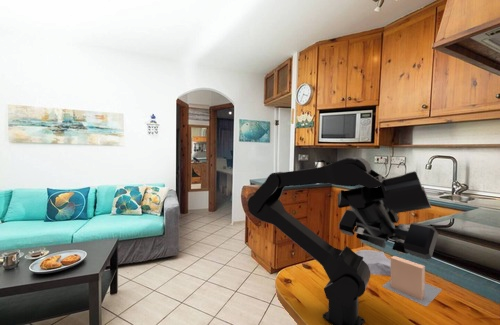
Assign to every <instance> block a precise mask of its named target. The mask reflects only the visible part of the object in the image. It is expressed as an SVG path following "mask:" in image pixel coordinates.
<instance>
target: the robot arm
mask: <svg viewBox="0 0 500 325" xmlns="http://www.w3.org/2000/svg"><path fill="white" fill-rule="evenodd" d="M318 184H326V185H327V184H328V185H332V186H333V185H334V186H341V187H342V186H344V187H353V188H350V189H348V190H344V189H341V190H340V191H339V192H338V193H337V208H338V209H344V208H348V207H349V208H350V209H349V208H348V209H346V210H345V211H344V213H343V214H342V216H341V218H340V221H339V223H338V229H339V230H340V232H341V233H342V234H345V235H347V236H351V237H353V236H355V233H356V236H355V237H356V239H358V240H361V241H363V242H366V243H369V244H372V245H374V246H377V247H380V248H383V249H385V248H386V246H387V244H386V242H388V241H389V240H390V241H393V242H394V243H393V246H392V248H391V249H392V250H393V251H395V252H396V253H399V254H401V255H408V254H410V255H412V256H415V257H418V258H421V259H425V260H430V259H432V258H433V254H434V250H435V248H436V244H437V240H438V237H439V233H438V231H437V230H436V228H435V227H434V226H431V225H426V224H421V223H418V222H412V223H410V224H405V223H400V224H398V223H399V220H400V218H399V216H398V214H399V213H406V212H412V211H413V212H414V211H419V210H427V209H432V205H431V203H430V200H429V197H428V195H427V192H426V190H425V187H424V186H422V183H421V181H420V178H419V175H418V174H417V172H416V171H409V172H407V173H405V174H401V175H398V176H392V177H389V178H386V177H385V176H383V175H382V174H379V173H378V172H377V171H375V170H374V169H372V167H371V164H370V163H369V161H367V160H366V159H365V158H364V157H359V156H357V157H355V156H353V157H352V156H351V157H346V158H343V159H340V160H337V161H334V162H331V163H329V164H326V165H322V166H319V167H312V168H305V169H298V170H289V171H279V172H278V171H277V172H272V173H270V174H269V175H268V176H267V178H266V180H265V181H264V182H263V183H262V184H261V186H259V188H258V189H256V191H255V192H254V194H252V196H250V197H249V199H248V201H247V211H248V212H249V214H250V215H251V216H253V217H254V218H256V219H257V220H259V221H261V222H264V223H265V224H266V223H267V224H269V225H270V224H271V225H273V226H274V227H276V228H277V229H278V230H279V231H281V232H282V233H283V234H284V235H285V236H286V237H287V238H288V239H290V240H291V241H292V242H293V243H295V244H296V245H297V246H298V247H300V248H301V249H302V250H303V251H305V252H306V254H308V255H309V256H310V257H312V258H313V259H314V261H316V262H318V263H319V264H320V265H321V266H322V267H323V271H324V272H325V274H326V275H327V277H328V279H329V281H328V282H327V283H326V286H325V287H324V288H323V291H324V293H325V294H324V295H325V297H326V299H327V300H328V311H326V312H324V313H323V314H322V318H323V319H324V320H325V321H326V322H328V323H329V324H331V325H364V324H365V323H366V319H365V318H364V317H361V316H360V315H359V297H362V296H363V295H364V293H365V292H366V289H367V286H368V284H369V281H370V278H371V274H370V270H369V266H368V265H367V264H366V263H365V262H364V261H363V257H361V256H359V255H357V254H355V252H354V251H353V250H352V249H351V248H350V247H349V246H346V245H345V246H344V248H343V249H340V248H337V247H334V246H333V245H331V244H329V242H327V241H326V240H325V239H323V238H322V237H320V236H319V235H318V234H317V233H315V232H314V231H313V230H312V229H310V228H308V227H307V226H306V225H305V224H304V223H302V222H301V221H300V220H298V219H297V218H295V217H294V216H293V215H292V214H290V213H289V212H288V210H287V211H286V208H284V205H283V203H282V201H281V200H280V198H281V196H282V195H283V192H284V189H285V188H286V187H297V186H306V185H318ZM356 186H359V187H356ZM397 224H398V225H397Z"/></svg>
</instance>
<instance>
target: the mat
mask: <svg viewBox="0 0 500 325" xmlns="http://www.w3.org/2000/svg"><path fill="white" fill-rule="evenodd" d="M381 287H383V288H384V289H387V290H389V291H391V292H393V293H396V294H397V295H400V296H402V297H404V298H406V299H408V300H411V301H413V302H415V303H418V304H420V305H422V306H424V307H428V306H429V305H430V303H432V302H433V300H435V298H436V297H437V296H439V294H440V293H441V292H442V291H443V289H442V288H440V287H436V286H434V285H431V284H429V283H427V282H425V298H423V299H422V300H419V299H417V298H415V297H413V296H410V295H408V294H406V293H404V292H401V291H399V290H397V289H395V288H392V287H391V279H390V280H388V281H386V282H385V284H382V286H381Z"/></svg>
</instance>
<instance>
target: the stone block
mask: <svg viewBox="0 0 500 325" xmlns="http://www.w3.org/2000/svg"><path fill="white" fill-rule="evenodd" d="M354 253H355V254H357V255H359V256H361V257H363V261H364V262H365V263H366V264H367V265H368V266H369V270H370V275H375V276H377V275H378V276H388V277H391V258H388V257H387V256H386V255H385V253H384V251H377V250H372V249H362V250H357V251H355V252H354Z"/></svg>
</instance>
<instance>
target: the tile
mask: <svg viewBox="0 0 500 325" xmlns="http://www.w3.org/2000/svg"><path fill="white" fill-rule="evenodd" d="M390 260H391V276H390V280H391V287H392V288H395V289H397V290H399V291H401V292H404V293H406V294H408V295H410V296H413V297H415V298H417V299H419V300H422V299H423V298H425V283H426V266H425V265H424V264H420V263H416V262H413V261H411V260H407V259H405V258H403V257H398V256H396V255H393V256H392V257H390Z"/></svg>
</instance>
